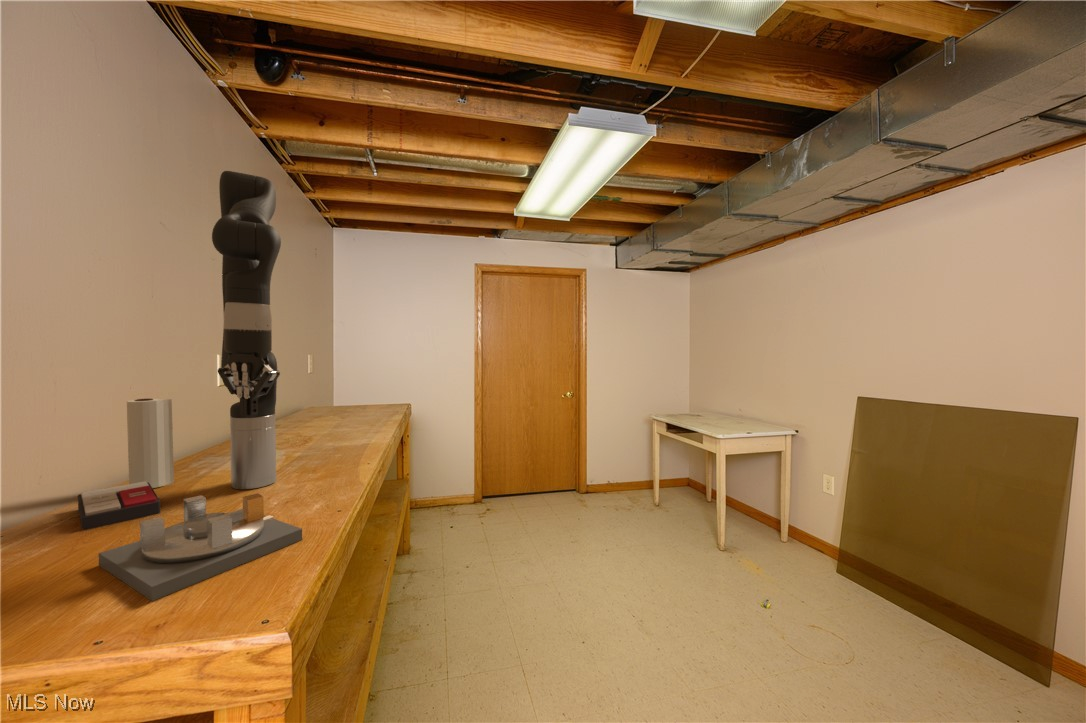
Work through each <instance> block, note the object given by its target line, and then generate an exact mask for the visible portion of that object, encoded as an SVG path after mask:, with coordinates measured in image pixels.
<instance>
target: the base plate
mask: <svg viewBox="0 0 1086 723" xmlns="http://www.w3.org/2000/svg"><path fill="white" fill-rule="evenodd" d="M230 513H243V508H242V509H241V508H240V509H238V510H235V511H232V512H230ZM263 520H264V529H263V531H262V533H261V534H260V535H259V536H258V537H256V538H255V539H254V540H252V541H250V542H248V543H247V544H245V545H242V546H240V547H238V548H235V549H233V550H230V551H227V552H224V553H221V554H218V555H214V556H210V557H206V558H202V559H197V560H191V561H184V562H174V563H158V562H152V561H148V560H146V559H144V558H143V557H142V548H141V544H140V540H137V541H133V542H131V543H128V544H124V545H121V546H117V547H114V548H110V549H108V550H107V549H106V550H105V551H102V552H98V567H101V568H102V569H104V570H105V571H106V572H108V573H109V572H110V573H109V574H111V575H112V574H113V575H112V576H114V577H115V578H117V579H118V580H120V581H121V580H122V581H121V582H123V583H124V584H126V585H127V586H129V587H130V588H132V589H133V590H135V591H136V592H138V593H139V594H141V595H143V596H144V597H145V598H147V599H149V600H150V601H151V602H155V601H156V600H159V599H161V598H164V597H166V596H169V595H171V594H173V593H176V592H178V591H181V590H184V589H186V588H188V587H190V586H193V585H195V584H198V583H201V582H202V581H205V580H207V579H210V578H213V577H215V576H217V575H220V574H222V573H224V572H227V571H230V570H232V569H234V568H237V567H240V566H242V565H244V564H246V563H249V562H251V560H252V561H254V560H256V559H259V558H262V557H264V556H266V555H269V554H271V553H273V552H276V551H278V550H280V549H281V550H282V549H283V548H286V547H288V546H290V545H293V544H295V543H298V542H300V541H302V540H303V528H301V527H298V526H296V525H293V524H290V523H287V522H284V521H282V520H279V519H276V518H275V517H274V516H273V515H264V518H263ZM241 564H242V565H241ZM239 565H240V566H239Z"/></svg>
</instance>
